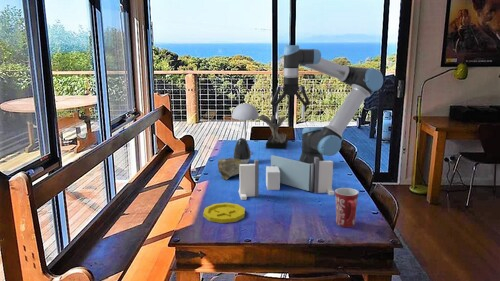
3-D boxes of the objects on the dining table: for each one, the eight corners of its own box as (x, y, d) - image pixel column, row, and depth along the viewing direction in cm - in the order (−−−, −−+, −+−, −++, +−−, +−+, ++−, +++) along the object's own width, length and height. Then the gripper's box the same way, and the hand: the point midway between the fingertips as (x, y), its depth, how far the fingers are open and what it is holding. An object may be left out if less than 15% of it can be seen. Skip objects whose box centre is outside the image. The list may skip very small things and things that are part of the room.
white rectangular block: (277, 183, 211) (277, 166, 209) (279, 190, 201) (280, 172, 199) (265, 183, 210) (266, 166, 208) (267, 190, 201) (267, 172, 199)
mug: (330, 219, 167) (332, 187, 164) (352, 218, 168) (354, 187, 165) (339, 233, 155) (341, 199, 152) (363, 232, 155) (365, 198, 152)
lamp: (263, 152, 270) (263, 102, 263) (249, 158, 256) (249, 105, 249) (241, 149, 279) (241, 100, 272) (226, 154, 265) (226, 103, 258)
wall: (327, 187, 204) (329, 154, 200) (334, 195, 194) (336, 160, 190) (238, 192, 197) (238, 157, 194) (241, 199, 188) (241, 163, 184)
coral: (285, 150, 275) (286, 118, 270) (255, 149, 279) (255, 117, 274) (289, 142, 299) (289, 112, 294) (261, 140, 303) (261, 111, 298)
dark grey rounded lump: (231, 165, 242) (231, 139, 239) (236, 160, 252) (235, 135, 248) (248, 166, 240) (248, 140, 236) (252, 161, 249) (252, 136, 246)
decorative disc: (201, 223, 164) (200, 218, 163) (207, 206, 181) (207, 202, 181) (243, 224, 163) (243, 219, 163) (245, 207, 180) (245, 203, 180)
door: (313, 191, 198) (315, 163, 194) (310, 193, 195) (311, 165, 192) (272, 179, 215) (272, 153, 212) (268, 181, 213) (268, 155, 209)
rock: (212, 178, 217) (228, 182, 211) (213, 159, 215) (229, 162, 210) (233, 173, 233) (248, 176, 227) (234, 154, 231) (249, 157, 226)
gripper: (312, 75, 213) (311, 116, 218) (265, 76, 210) (264, 117, 214) (317, 76, 206) (315, 119, 211) (267, 77, 202) (267, 120, 207)
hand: (290, 118), depth 213 cm, fingers open, 13 cm apart
